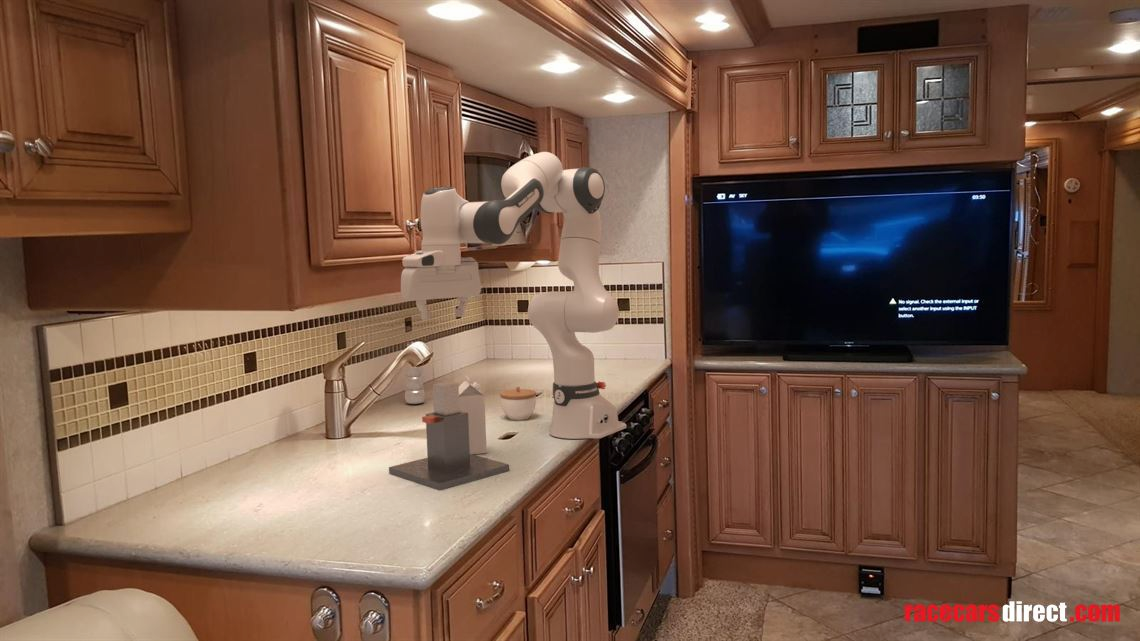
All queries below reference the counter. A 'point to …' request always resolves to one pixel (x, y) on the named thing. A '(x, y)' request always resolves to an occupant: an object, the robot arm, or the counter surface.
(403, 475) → the jack base
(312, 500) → the counter surface
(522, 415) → the lidded jar
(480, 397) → the milk carton
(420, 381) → the plastic bottle
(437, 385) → the block
